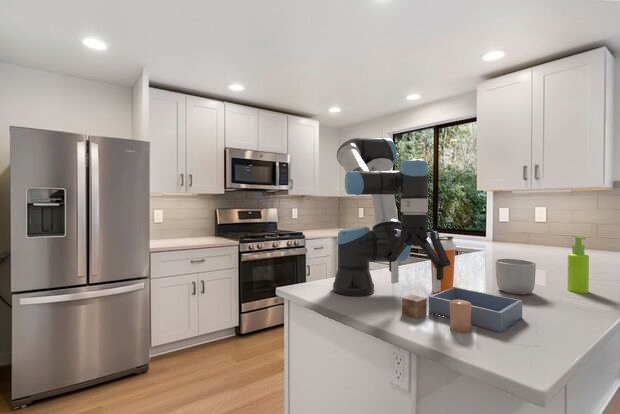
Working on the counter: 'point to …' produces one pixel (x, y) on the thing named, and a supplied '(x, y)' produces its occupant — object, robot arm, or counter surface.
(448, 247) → the shaker bottle
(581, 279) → the soap dispenser
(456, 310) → the peach capsule pill
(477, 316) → the tote
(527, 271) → the planter
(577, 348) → the counter surface
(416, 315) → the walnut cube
